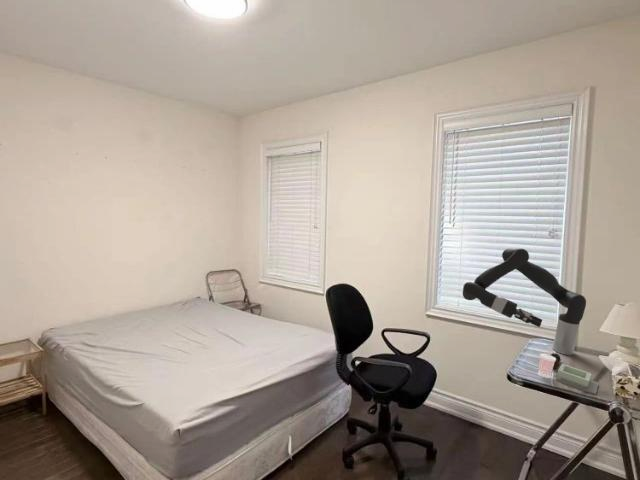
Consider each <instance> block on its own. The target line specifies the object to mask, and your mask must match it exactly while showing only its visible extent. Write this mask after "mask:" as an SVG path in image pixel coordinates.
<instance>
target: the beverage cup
mask: <svg viewBox="0 0 640 480" xmlns="http://www.w3.org/2000/svg"><path fill="white" fill-rule="evenodd" d="M551 348H552V347H551V345H549V347H548V352H547V353H539V364H538V375H539V376H540V377H542V378H546V379H550V378H551V376H552V372H553V370H554V369H553V366H554V362H555V361H556V358H555V357H553V356H551V354H550V353H551V351H550V350H551Z"/></svg>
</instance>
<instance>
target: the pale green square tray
mask: <svg viewBox="0 0 640 480" xmlns="http://www.w3.org/2000/svg"><path fill="white" fill-rule="evenodd" d="M591 378H592V373H591V372H588V371H585V370H582V369H579V368H576V367H574V366H571V365H567V364H564V363H561V365H559V368H558V370H557V373H556V377H555V381H556V382H559V383H562V384H565V385H567V386H569V387H572V388H575V389H577V390H581V391H584V392H586V393H588V394H590V395H591V394H592V395H594V396H596V395H597V392H598V389H599V382H598V381H595V380H592V379H591Z"/></svg>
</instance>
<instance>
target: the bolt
mask: <svg viewBox="0 0 640 480" xmlns="http://www.w3.org/2000/svg"><path fill="white" fill-rule="evenodd" d="M550 355H551V356H553V357H555V358H556V361H555V362H554V366H553V369H552V370H556V369H557V368H558V367H560V362H561V361H562V359H561V356H560V355H559V354H558V353H551V354H550Z"/></svg>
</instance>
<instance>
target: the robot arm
mask: <svg viewBox="0 0 640 480" xmlns="http://www.w3.org/2000/svg"><path fill="white" fill-rule="evenodd" d="M501 257H502V260H503V262H501V263H499V264H497V265H495V266H492V267H490V268H488V269H486V270H485V271H483V272H482V273H481V274H479V275H478V276H476V278H475V280H474V282H472V281H468V282H466V283H464V285H463V286H462V287H463V288H462V296H463V298H464V299H465V300H467V301H473V300H475V299H477V300H479V302H480V304H481V305H483V306H485V307H487V308H489V309H491V310H493V311H494V312H497V313H498V314H501V315H503V316H505V317H507V318H510V319H511V318H512V317H513V316H514V318H515V319H517V320H519V321H522V322H524V323H526V324H531V325H533V326H536V327H538V328H540V327H541V326H542V322H543V319H542V318H540V317H537V316H535V315H534V314H533V313H531V312H529V311H526V310H524V309H522V308H520V307H519V308H517V307H518V303H516V302H514V301H511V300H510V299H508V298H505V297H503V296H499V295H497V294H494V293H492V292H490V291H488V290H486V289H487V288H489V287H490V286H491V285H493V284H494V283H496V281H498V280H500V279H501V278H502V277H504V276H506V275H507V274H509V273H511V272H513V271H515V270H516V271H518V272H520V273H521V274H522V275H523V276H524V277H526V278H527V279H528V280H530V281H531V282H532V283H533V284H534V285H536V286H537V287H539V288H540V289H541V290H543V292H546V293H547V294H549V295H551V296H552V298H554V299H555V301H557V302H558V304H559V305H561V306H562V307H564V308H566V309H567V310H566V312H565V313H560V314H559V315H558V320H557V325H556V329H555V335H554V339H553V344H552V350H554V351H555V352H557V353H559V354H562V355H565V356H566V355H567V356H573V355H574V351H575V347H576V346H575V345H576V341H577V337H578V336H577V335H578V331H579V327H580V323H581V320H583V317H584V314H585V309H586V306H587V299H586V297H585V296H584V295H582V294H580V293H578V292H577V293H576V292H574V291H571V290H569V289H567V288H565V287H564V286H562V285H561V284H560V283H559V281H558V279H557V278H556V277H555V275H554V274H553V273H551V272H549V270H547V269H545V268H544V267H542V266H540V265H537V264H535V263H533V262H530V261H529V259H530V253H529V252H528V250H527V249H524V248H522V247H521V248H520V247H508V248H505V249H504V250H503V251H502V254H501Z"/></svg>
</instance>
